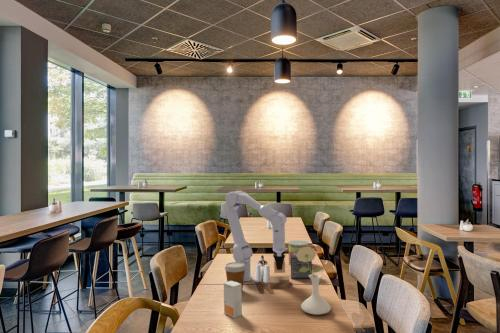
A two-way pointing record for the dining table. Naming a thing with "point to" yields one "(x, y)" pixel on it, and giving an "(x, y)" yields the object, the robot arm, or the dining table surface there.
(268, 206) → the robot arm
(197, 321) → the dining table surface
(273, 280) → the walnut block
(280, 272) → the terracotta cube
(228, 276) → the disposable coffee cup
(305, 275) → the small box
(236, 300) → the skincare box
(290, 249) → the canned food
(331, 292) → the dining table surface
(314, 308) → the flower in vase
